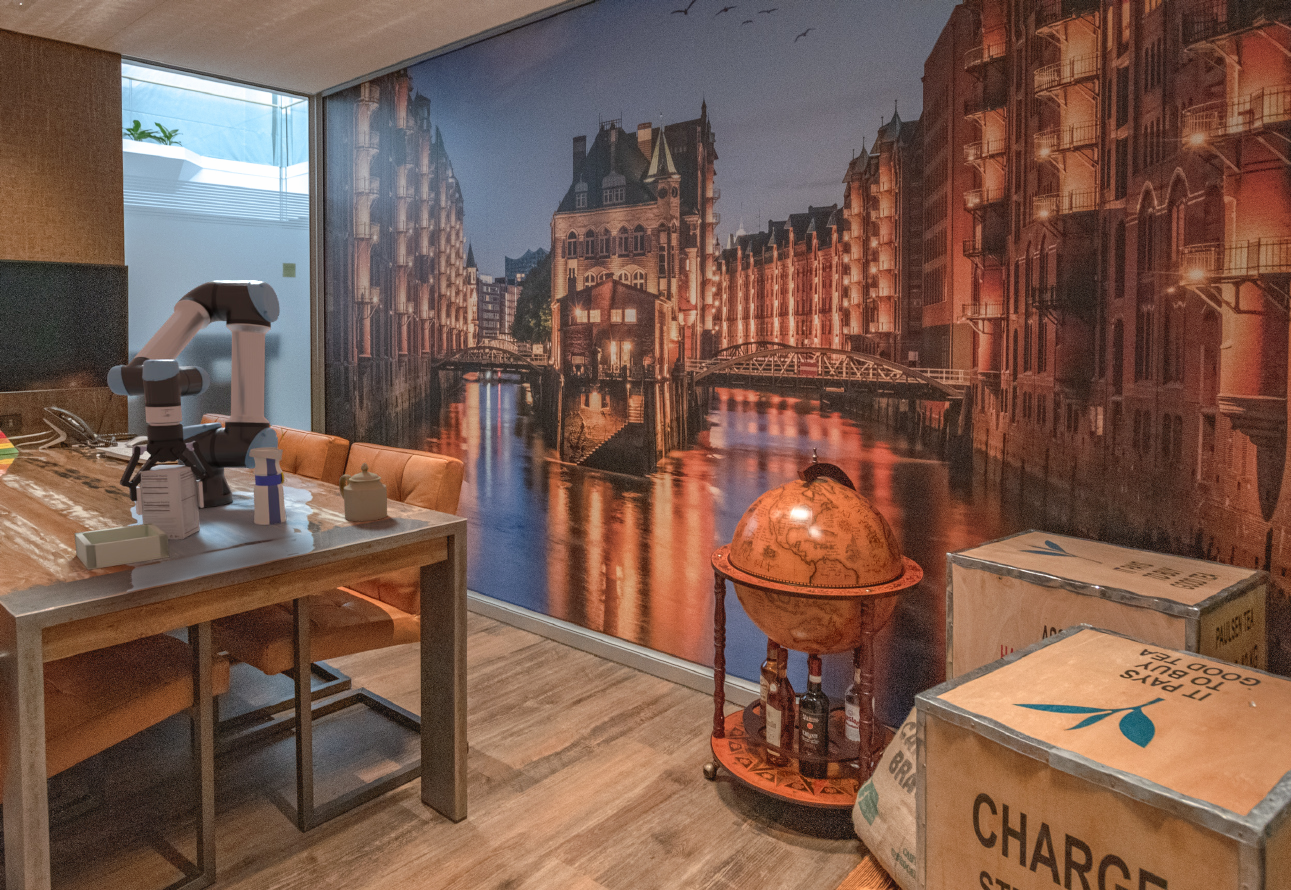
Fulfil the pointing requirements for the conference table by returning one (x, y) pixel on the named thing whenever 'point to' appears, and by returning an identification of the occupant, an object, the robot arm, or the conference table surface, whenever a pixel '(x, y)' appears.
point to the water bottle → (268, 486)
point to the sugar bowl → (363, 496)
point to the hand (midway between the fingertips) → (170, 510)
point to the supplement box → (170, 500)
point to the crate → (121, 545)
